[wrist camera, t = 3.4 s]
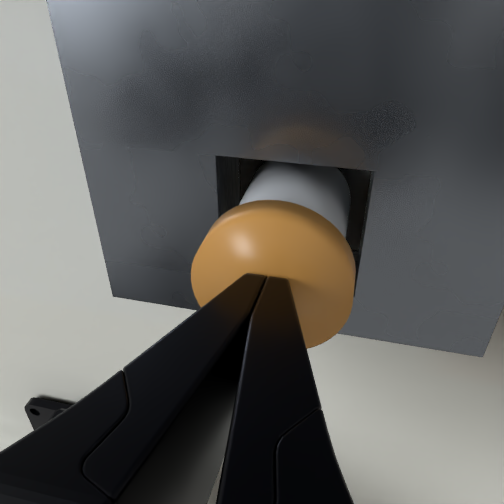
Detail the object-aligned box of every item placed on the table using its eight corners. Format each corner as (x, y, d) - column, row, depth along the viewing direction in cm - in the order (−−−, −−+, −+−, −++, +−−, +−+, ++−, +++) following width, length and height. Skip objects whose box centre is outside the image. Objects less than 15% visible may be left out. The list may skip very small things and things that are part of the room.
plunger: (354, 257, 13) (343, 362, 10) (239, 242, 14) (196, 336, 11) (371, 145, 11) (364, 233, 8) (238, 133, 12) (184, 211, 9)
